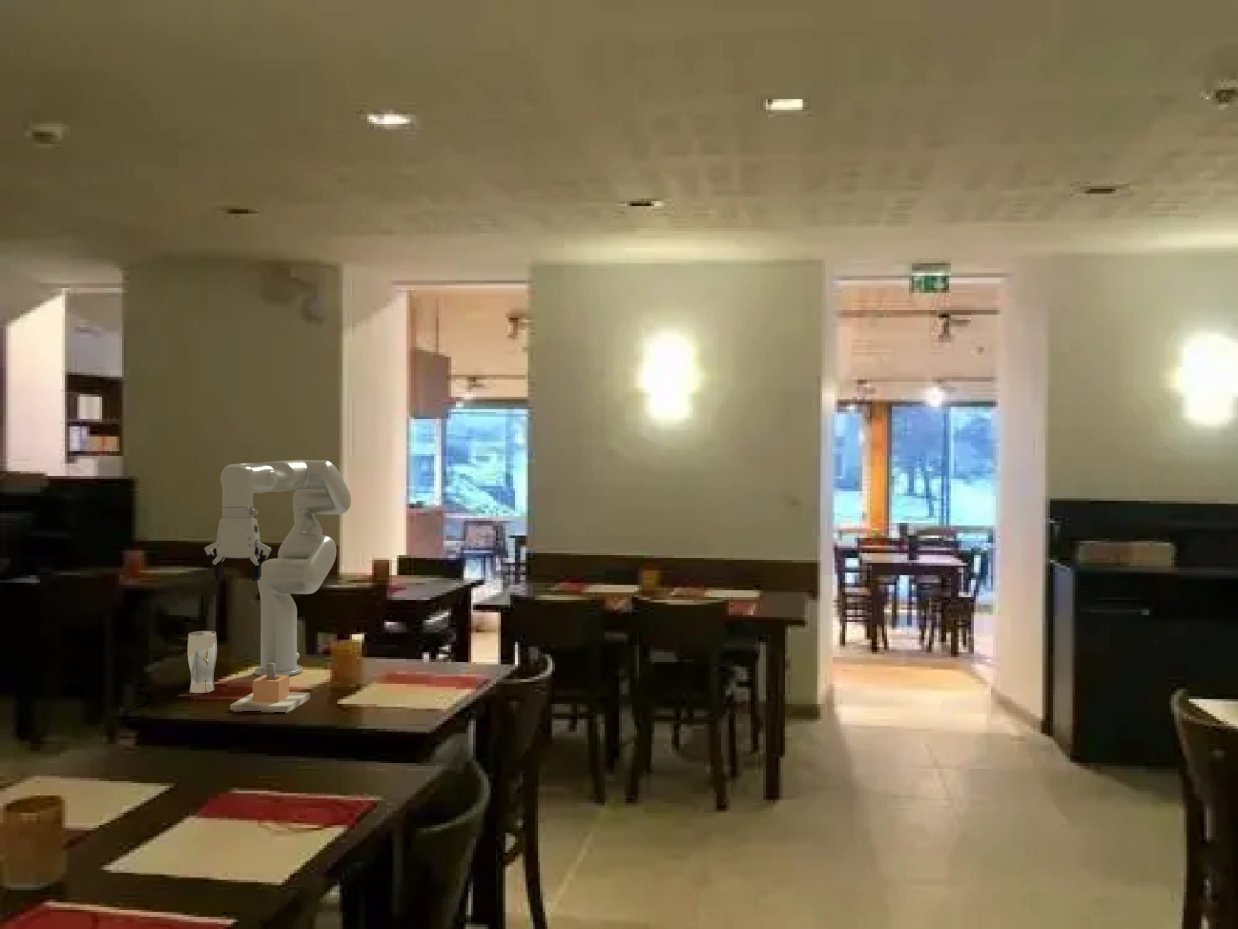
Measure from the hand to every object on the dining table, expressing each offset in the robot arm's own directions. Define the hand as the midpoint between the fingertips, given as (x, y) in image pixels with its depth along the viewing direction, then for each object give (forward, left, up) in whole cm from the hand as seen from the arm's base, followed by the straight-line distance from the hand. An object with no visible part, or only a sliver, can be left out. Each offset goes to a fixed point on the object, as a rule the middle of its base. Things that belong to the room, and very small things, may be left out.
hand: (237, 580), depth 270 cm
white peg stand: (+14, +15, -28) cm, 35 cm away
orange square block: (+14, +15, -27) cm, 34 cm away
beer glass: (+3, -8, -28) cm, 30 cm away
